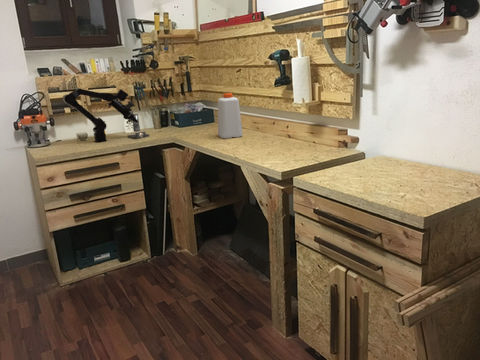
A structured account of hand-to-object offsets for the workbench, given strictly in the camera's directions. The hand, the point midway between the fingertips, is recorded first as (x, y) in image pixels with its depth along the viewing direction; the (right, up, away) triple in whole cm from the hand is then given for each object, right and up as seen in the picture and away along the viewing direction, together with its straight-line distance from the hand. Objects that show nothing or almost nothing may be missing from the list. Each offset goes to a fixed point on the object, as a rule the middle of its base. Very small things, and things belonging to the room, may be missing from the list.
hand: (137, 121), depth 276 cm
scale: (0, -11, +2) cm, 11 cm away
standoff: (-1, -6, +2) cm, 7 cm away
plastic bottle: (+65, -12, -11) cm, 67 cm away
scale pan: (-1, -9, +2) cm, 9 cm away
